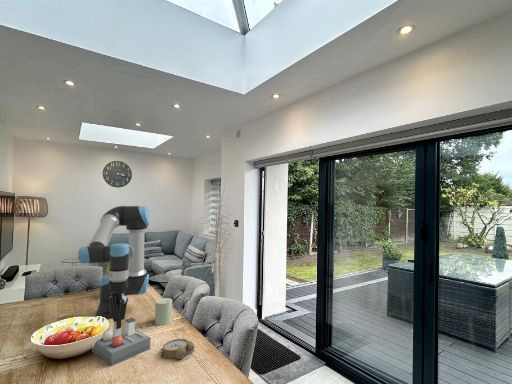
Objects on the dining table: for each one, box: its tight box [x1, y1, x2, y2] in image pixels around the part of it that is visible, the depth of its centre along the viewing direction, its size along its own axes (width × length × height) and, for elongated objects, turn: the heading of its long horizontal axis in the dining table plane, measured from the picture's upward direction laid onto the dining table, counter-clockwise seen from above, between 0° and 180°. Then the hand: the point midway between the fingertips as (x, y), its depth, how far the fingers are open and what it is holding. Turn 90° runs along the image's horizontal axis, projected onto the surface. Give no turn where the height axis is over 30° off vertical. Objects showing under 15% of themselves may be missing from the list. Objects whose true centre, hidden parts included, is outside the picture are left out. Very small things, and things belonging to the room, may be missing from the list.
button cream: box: [102, 329, 113, 342], centre depth 123 cm, size 4×4×4 cm
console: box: [91, 327, 151, 366], centre depth 123 cm, size 19×17×6 cm
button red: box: [111, 335, 122, 348], centre depth 118 cm, size 4×4×4 cm
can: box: [154, 297, 173, 326], centre depth 153 cm, size 9×9×12 cm
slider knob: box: [124, 317, 136, 336], centre depth 127 cm, size 3×3×7 cm
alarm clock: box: [160, 338, 196, 360], centre depth 121 cm, size 11×5×15 cm
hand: (116, 335), depth 118 cm, fingers closed
